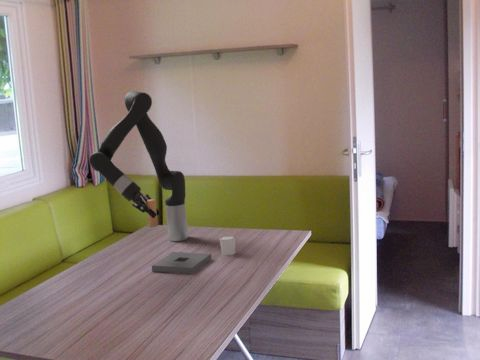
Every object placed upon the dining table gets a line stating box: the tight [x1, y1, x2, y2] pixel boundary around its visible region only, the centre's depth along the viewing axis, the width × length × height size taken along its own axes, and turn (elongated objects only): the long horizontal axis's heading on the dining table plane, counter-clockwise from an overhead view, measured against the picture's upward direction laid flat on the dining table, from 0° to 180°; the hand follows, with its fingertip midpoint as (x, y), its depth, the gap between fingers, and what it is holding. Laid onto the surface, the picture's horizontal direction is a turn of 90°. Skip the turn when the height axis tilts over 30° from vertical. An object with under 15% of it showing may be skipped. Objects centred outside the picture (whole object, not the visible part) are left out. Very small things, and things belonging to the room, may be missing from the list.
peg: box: [147, 198, 159, 228], centre depth 237 cm, size 4×4×11 cm
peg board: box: [151, 251, 212, 275], centre depth 231 cm, size 18×18×2 cm
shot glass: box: [219, 235, 236, 257], centre depth 242 cm, size 7×7×7 cm
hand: (157, 215), depth 237 cm, fingers closed on peg, 3 cm apart
